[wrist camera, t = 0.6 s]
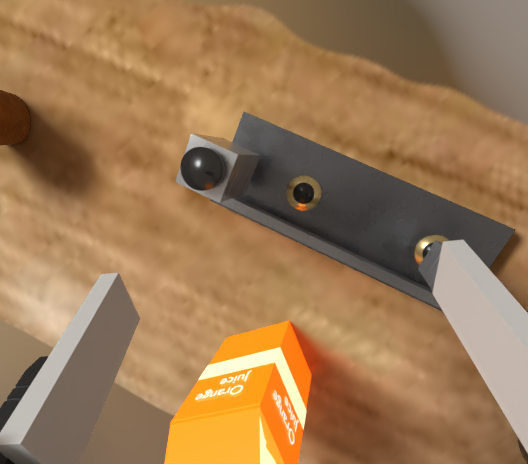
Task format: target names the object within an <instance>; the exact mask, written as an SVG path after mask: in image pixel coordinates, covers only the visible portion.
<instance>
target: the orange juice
mask: <svg viewBox="0 0 528 464" xmlns="http://www.w3.org/2000/svg"><path fill="white" fill-rule="evenodd" d="M310 382H311V373H310V370H309V368H308V365H307V363H306V360H305V358H304V355H303V353H302V351H301V348H300V346H299V343H298V341H297V338H296V336H295V333H294V331H293V329H292V326H291V324H290V321H286V322H283V323H279V324H275V325H272V326H268V327H264V328H261V329H257V330H253V331H250V332H246V333H242V334H239V335H235V336H231V337H227V338H226V339H225V341H224V342H223V344H222V345H221V347H220V349H219V350H218V352H217V353H216V355H215V356H214V358H213V359H212V361H211V362H210V364H209V365H208V366H207V367H206V369H205V370H204V372H203V373H202V375H201V376H200V378H199V379H198V382H197V383H196V385H195V386H194V388H193V389H192V391H191V392H190V394H189V396H188V397H187V399H186V400H185V402H184V403H183V405H182V406H181V408H180V409H179V411H178V412H177V414H176V415H175V417H174V418H173V420H172V421H171V423H170V432H169V438H168V444H167V451H166V457H165V464H298V459H299V452H300V446H301V439H302V433H303V429H304V424H305V417H306V411H307V410H306V407H307V401H308V395H309V388H310Z"/></svg>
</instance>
